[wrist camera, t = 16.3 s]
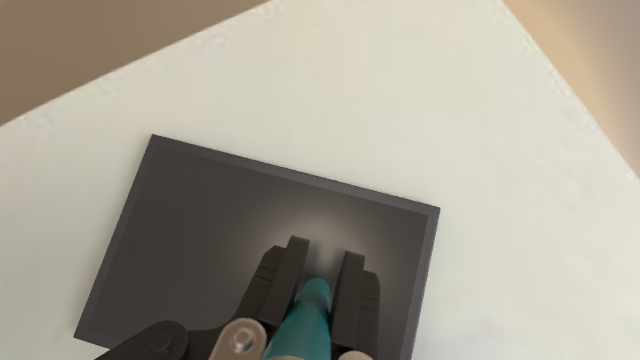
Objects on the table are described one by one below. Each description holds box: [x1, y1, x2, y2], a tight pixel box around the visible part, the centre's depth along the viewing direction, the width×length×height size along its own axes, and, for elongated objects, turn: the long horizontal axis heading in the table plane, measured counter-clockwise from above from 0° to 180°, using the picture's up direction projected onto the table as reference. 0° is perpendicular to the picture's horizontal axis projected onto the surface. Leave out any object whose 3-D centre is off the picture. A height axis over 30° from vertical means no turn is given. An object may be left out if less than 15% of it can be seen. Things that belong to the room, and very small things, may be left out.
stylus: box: [259, 276, 331, 360], centre depth 12 cm, size 2×2×16 cm
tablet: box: [73, 134, 440, 360], centre depth 20 cm, size 20×14×1 cm
